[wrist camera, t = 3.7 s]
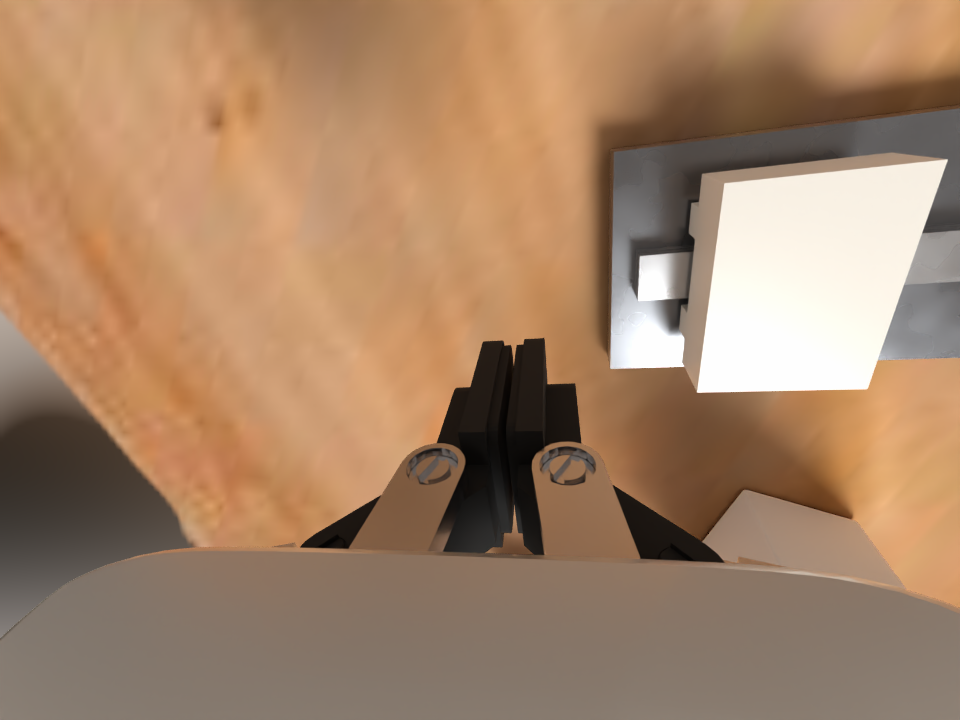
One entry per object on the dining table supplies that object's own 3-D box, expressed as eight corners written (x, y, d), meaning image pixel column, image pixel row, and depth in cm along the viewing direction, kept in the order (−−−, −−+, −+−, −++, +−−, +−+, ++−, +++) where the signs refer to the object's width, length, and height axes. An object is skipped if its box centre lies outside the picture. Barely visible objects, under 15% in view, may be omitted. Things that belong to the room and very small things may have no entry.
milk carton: (741, 486, 26) (1045, 1101, 10) (857, 518, 26) (1355, 1196, 10) (686, 556, 30) (841, 1090, 14) (787, 585, 30) (1065, 1159, 13)
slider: (873, 150, 16) (948, 159, 13) (819, 346, 20) (867, 388, 17) (694, 170, 17) (724, 183, 14) (676, 351, 21) (697, 392, 18)
